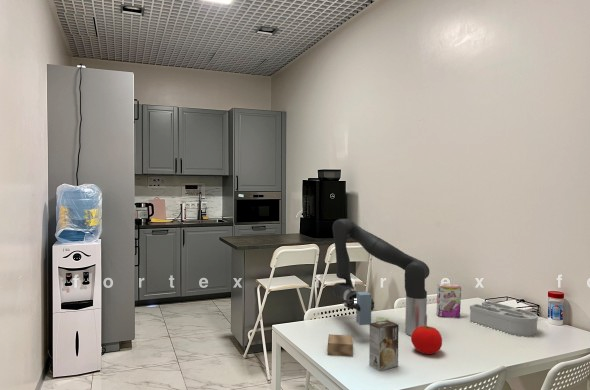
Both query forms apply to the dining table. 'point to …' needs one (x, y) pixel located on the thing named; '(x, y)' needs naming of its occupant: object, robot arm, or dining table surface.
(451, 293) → the candy bar box
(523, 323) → the gray compartment organizer
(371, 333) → the coffee box
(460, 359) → the dining table surface
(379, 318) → the olive block
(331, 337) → the walnut block
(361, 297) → the slate block
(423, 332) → the tomato
